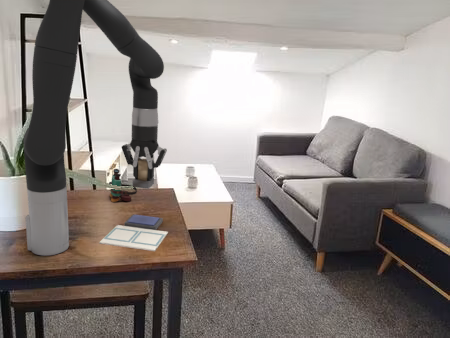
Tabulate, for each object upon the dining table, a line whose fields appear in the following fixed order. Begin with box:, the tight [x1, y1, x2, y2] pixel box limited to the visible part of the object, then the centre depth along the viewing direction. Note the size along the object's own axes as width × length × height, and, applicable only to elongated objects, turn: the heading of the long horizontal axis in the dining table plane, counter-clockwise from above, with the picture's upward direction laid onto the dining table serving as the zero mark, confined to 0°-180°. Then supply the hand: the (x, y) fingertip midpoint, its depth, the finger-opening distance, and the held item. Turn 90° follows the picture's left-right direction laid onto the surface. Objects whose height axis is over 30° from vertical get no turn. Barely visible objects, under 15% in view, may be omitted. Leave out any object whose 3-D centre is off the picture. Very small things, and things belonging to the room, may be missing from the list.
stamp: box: [132, 158, 155, 190], centre depth 119 cm, size 5×5×8 cm
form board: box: [99, 224, 169, 252], centre depth 114 cm, size 16×12×1 cm
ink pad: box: [123, 213, 164, 230], centre depth 123 cm, size 10×7×2 cm
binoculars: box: [108, 168, 138, 203], centre depth 142 cm, size 9×11×10 cm
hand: (143, 178), depth 120 cm, fingers closed on stamp, 3 cm apart
